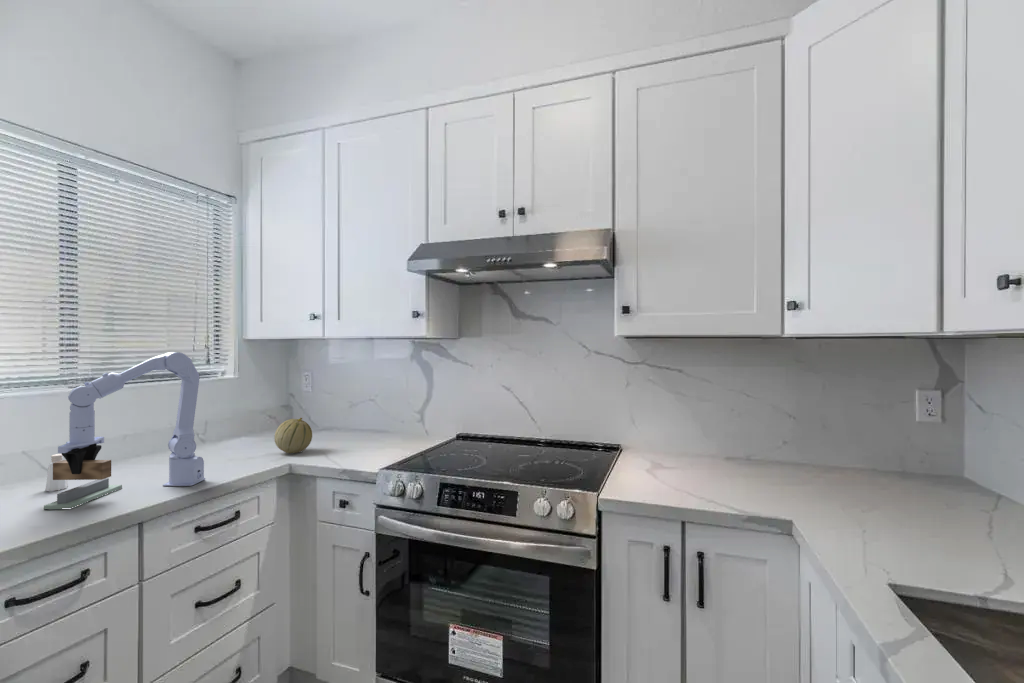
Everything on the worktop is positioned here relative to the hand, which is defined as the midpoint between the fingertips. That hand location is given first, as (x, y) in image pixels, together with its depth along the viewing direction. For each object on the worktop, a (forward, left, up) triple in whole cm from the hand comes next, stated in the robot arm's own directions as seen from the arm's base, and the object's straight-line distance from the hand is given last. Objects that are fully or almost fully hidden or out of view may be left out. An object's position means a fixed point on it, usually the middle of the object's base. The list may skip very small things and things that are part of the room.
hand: (82, 472), depth 147 cm
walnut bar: (0, 0, -2) cm, 2 cm away
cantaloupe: (-39, -61, -9) cm, 73 cm away
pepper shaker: (+17, -12, -9) cm, 23 cm away
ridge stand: (0, -2, -8) cm, 9 cm away
